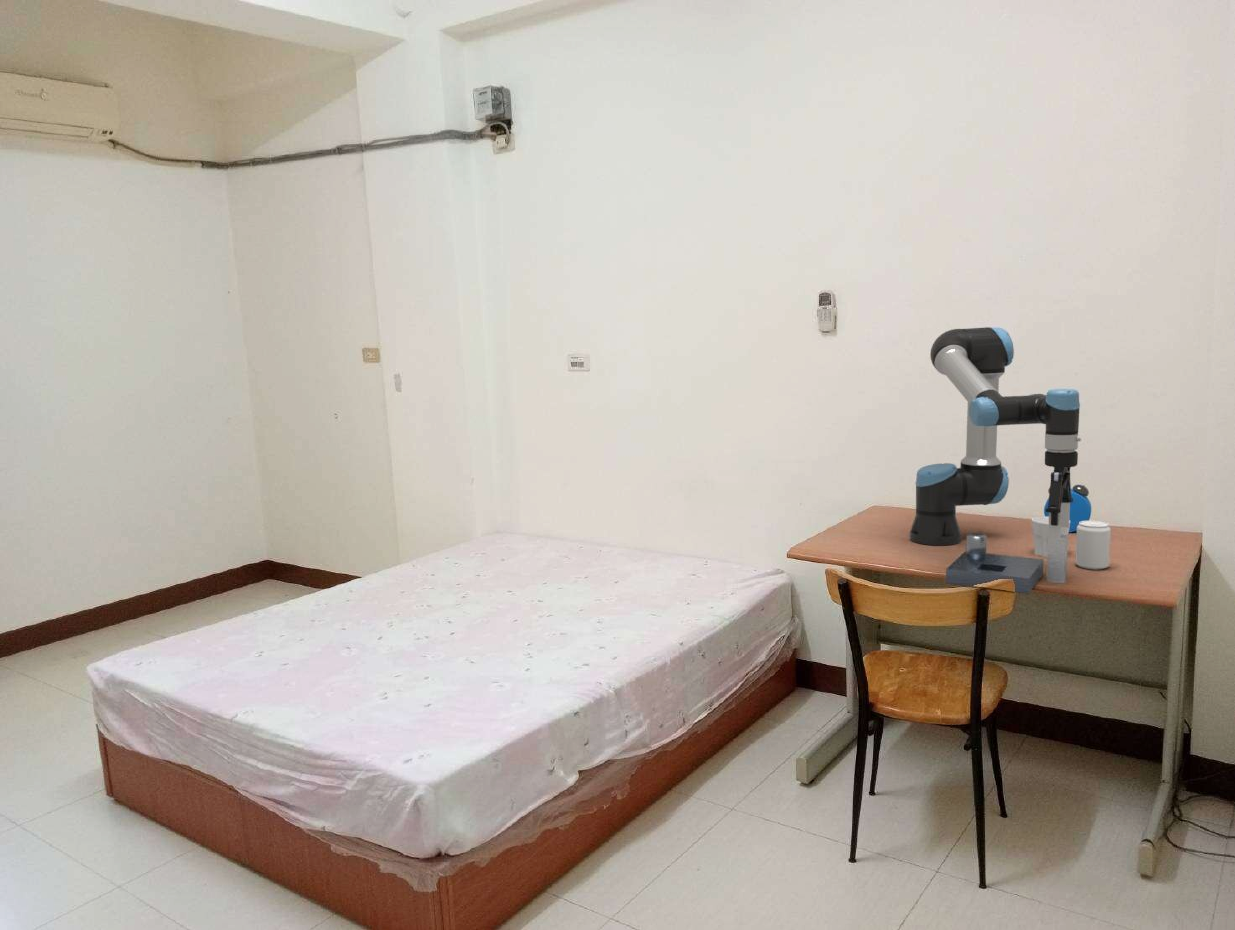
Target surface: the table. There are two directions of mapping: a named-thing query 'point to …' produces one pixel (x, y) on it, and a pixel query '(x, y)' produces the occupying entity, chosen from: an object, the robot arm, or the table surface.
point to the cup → (1043, 535)
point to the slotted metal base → (993, 567)
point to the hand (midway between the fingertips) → (1059, 532)
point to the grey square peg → (1057, 559)
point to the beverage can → (1093, 545)
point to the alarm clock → (1076, 506)
